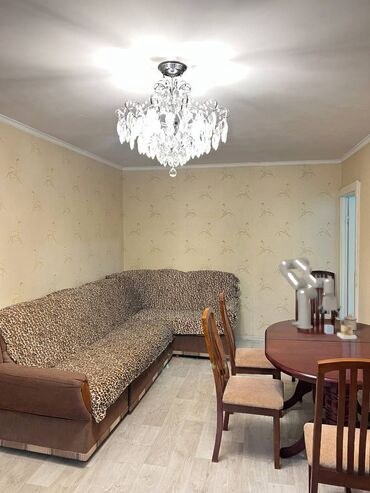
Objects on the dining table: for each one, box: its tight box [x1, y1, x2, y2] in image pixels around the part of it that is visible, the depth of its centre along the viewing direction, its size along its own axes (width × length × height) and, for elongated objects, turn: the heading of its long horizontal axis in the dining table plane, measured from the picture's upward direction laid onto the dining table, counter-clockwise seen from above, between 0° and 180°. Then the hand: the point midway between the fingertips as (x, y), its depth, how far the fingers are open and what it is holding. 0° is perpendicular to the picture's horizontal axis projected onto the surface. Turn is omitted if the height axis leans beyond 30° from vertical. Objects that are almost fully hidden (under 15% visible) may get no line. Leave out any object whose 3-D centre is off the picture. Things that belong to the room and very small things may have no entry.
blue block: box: [323, 324, 335, 335], centre depth 277 cm, size 5×5×6 cm
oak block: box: [340, 324, 354, 336], centre depth 265 cm, size 6×6×6 cm
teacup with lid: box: [339, 314, 357, 331], centre depth 288 cm, size 12×9×12 cm
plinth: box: [336, 332, 358, 340], centre depth 265 cm, size 10×10×2 cm
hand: (329, 317), depth 276 cm, fingers open, 9 cm apart
